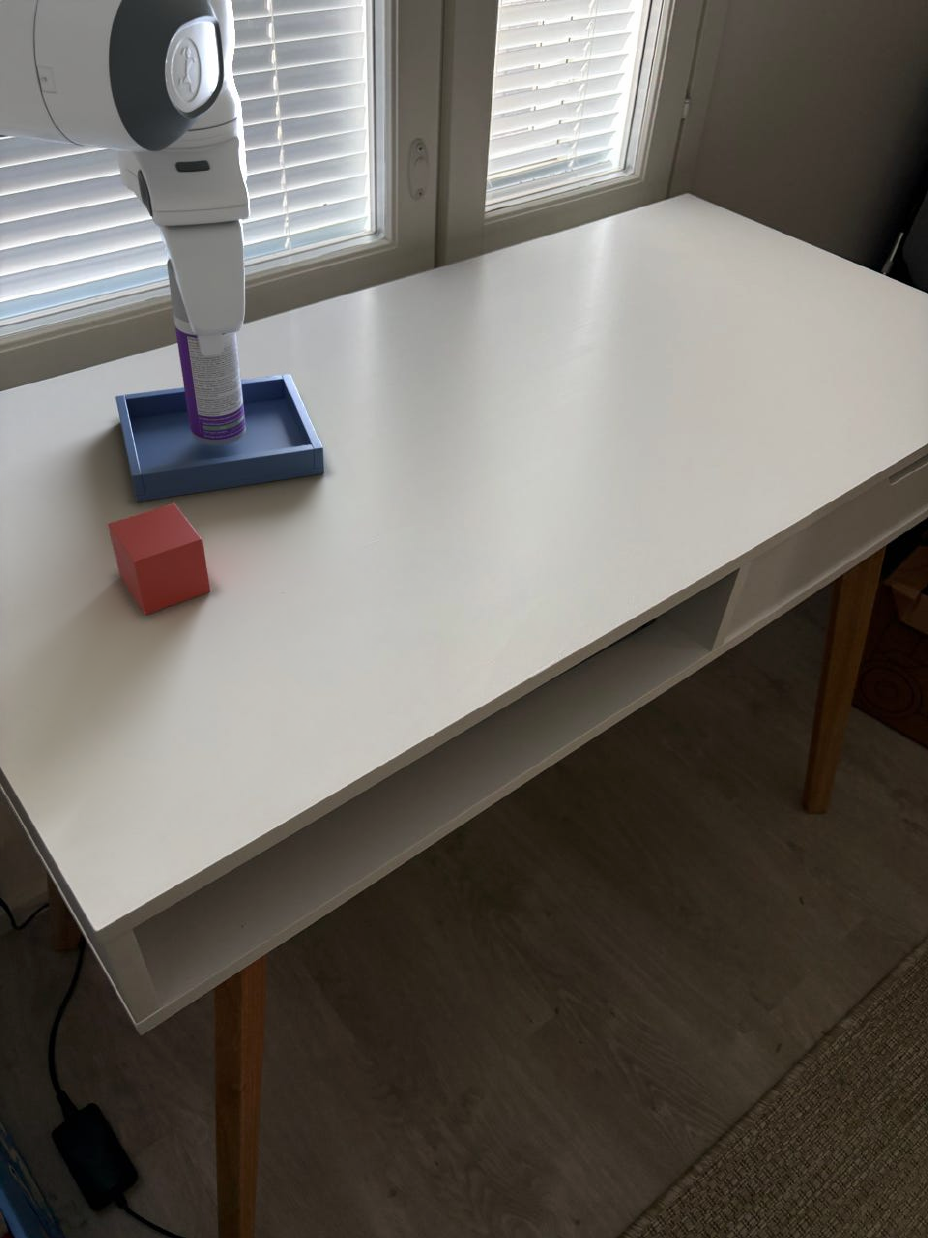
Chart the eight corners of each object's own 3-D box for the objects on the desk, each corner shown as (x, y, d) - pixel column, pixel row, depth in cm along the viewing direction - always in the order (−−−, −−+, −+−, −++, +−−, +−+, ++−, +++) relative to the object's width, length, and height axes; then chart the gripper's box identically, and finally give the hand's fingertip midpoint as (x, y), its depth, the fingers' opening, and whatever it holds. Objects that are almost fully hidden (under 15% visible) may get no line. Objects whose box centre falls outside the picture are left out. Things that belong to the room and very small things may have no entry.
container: (191, 417, 89) (166, 249, 78) (245, 414, 89) (228, 248, 79) (190, 446, 85) (164, 276, 75) (246, 443, 86) (228, 274, 76)
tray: (136, 502, 82) (131, 476, 80) (120, 421, 91) (114, 395, 89) (324, 473, 87) (323, 447, 85) (291, 398, 95) (289, 373, 93)
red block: (145, 615, 73) (134, 562, 69) (119, 576, 76) (107, 523, 72) (210, 591, 75) (202, 538, 71) (182, 554, 78) (173, 502, 74)
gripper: (120, 109, 78) (148, 281, 87) (154, 211, 64) (183, 402, 73) (203, 105, 80) (222, 274, 89) (253, 204, 66) (270, 391, 75)
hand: (205, 333), depth 81 cm, fingers closed on container, 4 cm apart
